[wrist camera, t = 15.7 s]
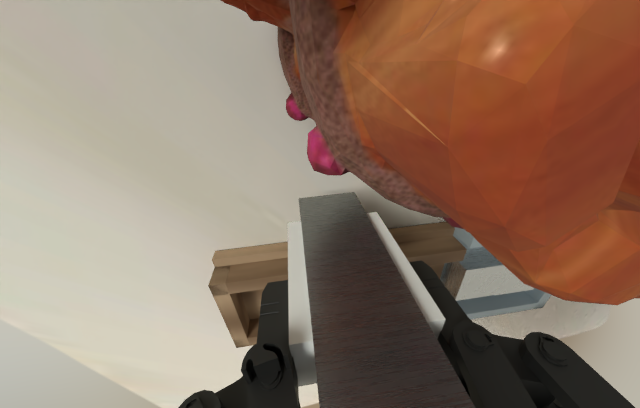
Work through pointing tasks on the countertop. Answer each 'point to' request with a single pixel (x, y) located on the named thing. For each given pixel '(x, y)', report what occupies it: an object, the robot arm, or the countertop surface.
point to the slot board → (272, 265)
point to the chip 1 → (473, 275)
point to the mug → (483, 122)
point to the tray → (498, 302)
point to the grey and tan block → (367, 317)
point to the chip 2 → (511, 285)
